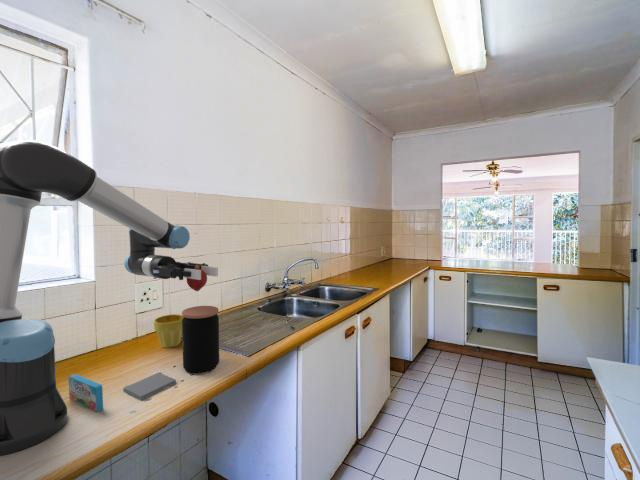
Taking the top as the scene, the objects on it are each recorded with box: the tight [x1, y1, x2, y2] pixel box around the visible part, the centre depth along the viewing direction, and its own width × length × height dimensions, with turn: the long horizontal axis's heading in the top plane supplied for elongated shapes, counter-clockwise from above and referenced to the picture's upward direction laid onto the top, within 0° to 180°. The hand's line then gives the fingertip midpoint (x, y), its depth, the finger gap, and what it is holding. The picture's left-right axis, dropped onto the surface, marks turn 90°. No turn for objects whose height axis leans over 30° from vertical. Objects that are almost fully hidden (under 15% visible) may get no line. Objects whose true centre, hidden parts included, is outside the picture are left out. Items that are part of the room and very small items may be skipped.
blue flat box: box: [68, 373, 104, 413], centre depth 80 cm, size 12×2×6 cm, turn 63°
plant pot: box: [153, 313, 184, 349], centre depth 118 cm, size 10×10×10 cm
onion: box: [186, 265, 208, 292], centre depth 98 cm, size 6×6×8 cm
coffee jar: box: [181, 305, 220, 375], centre depth 100 cm, size 11×11×18 cm
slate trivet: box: [123, 372, 177, 401], centre depth 88 cm, size 10×8×1 cm
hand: (208, 273), depth 96 cm, fingers closed on onion, 6 cm apart
